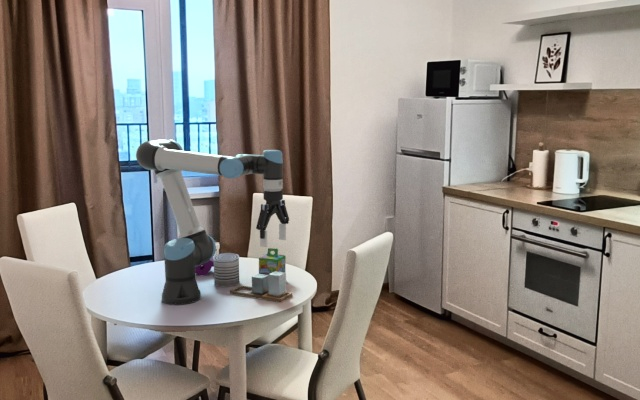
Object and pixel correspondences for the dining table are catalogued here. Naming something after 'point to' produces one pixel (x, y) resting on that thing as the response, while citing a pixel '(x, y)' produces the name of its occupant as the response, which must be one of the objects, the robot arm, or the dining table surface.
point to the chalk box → (272, 262)
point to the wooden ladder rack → (265, 297)
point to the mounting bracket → (204, 268)
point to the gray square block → (260, 284)
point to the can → (226, 269)
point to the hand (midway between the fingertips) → (273, 243)
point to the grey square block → (277, 284)
